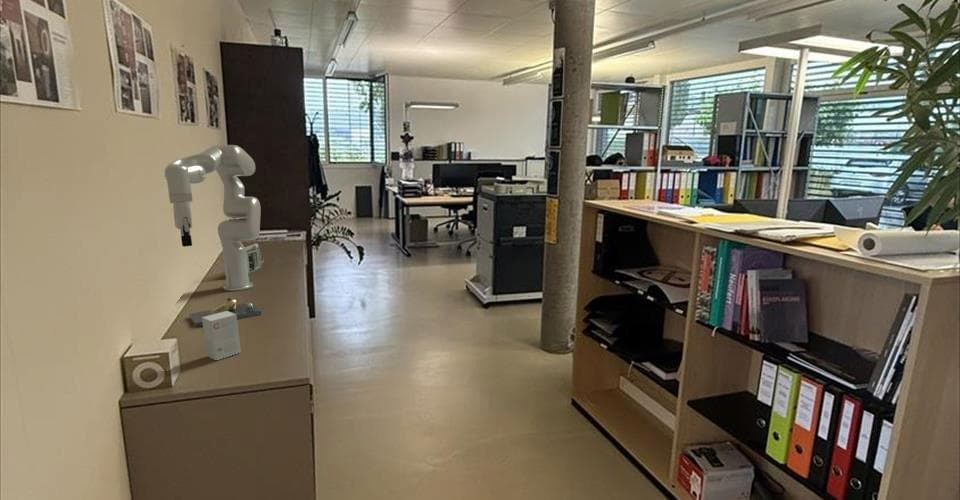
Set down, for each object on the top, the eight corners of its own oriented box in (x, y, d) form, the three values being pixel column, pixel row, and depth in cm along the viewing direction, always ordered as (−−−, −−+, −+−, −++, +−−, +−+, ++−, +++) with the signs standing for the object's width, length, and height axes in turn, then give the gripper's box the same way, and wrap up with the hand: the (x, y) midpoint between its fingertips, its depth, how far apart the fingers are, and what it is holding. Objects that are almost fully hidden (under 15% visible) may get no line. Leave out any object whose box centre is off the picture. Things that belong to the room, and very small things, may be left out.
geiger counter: (237, 250, 261) (266, 241, 285) (225, 250, 262) (256, 241, 286) (240, 278, 264) (269, 266, 288) (228, 277, 265) (258, 266, 289)
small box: (232, 348, 171) (227, 310, 169) (241, 353, 167) (236, 314, 165) (206, 356, 165) (201, 316, 163) (215, 361, 161) (210, 321, 159)
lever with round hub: (207, 320, 194) (206, 308, 194) (228, 307, 209) (227, 296, 208) (219, 319, 194) (218, 308, 193) (239, 307, 209) (238, 296, 208)
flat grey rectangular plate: (189, 317, 203) (188, 307, 203) (252, 305, 217) (251, 296, 216) (195, 327, 192) (194, 316, 191) (261, 314, 205) (260, 304, 205)
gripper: (167, 197, 204) (173, 244, 207) (172, 200, 192) (178, 250, 196) (189, 196, 208) (195, 242, 212) (195, 199, 196) (201, 247, 200)
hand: (187, 245), depth 204 cm, fingers closed
